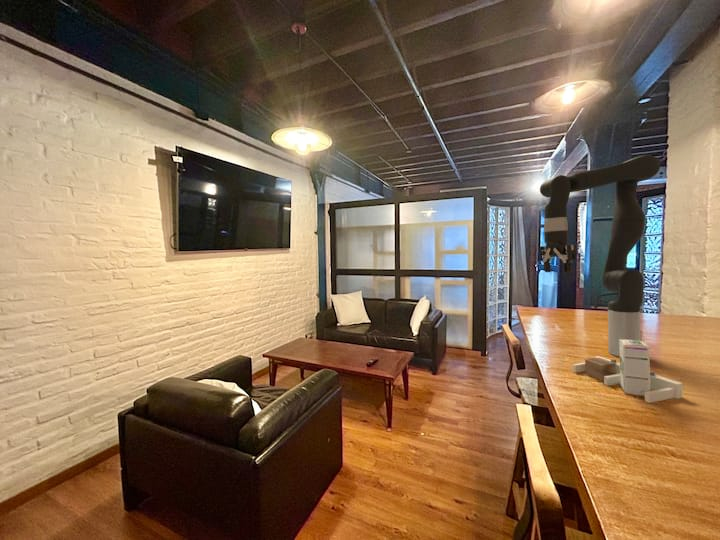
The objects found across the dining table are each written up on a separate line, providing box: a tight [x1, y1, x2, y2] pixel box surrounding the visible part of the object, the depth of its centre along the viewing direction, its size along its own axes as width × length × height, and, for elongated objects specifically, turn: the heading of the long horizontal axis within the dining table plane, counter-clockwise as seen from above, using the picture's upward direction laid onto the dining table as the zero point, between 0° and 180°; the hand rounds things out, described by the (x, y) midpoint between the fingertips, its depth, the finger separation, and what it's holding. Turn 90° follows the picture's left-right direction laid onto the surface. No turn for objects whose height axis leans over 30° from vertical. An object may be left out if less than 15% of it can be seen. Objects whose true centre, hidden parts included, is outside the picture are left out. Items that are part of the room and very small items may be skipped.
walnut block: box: [584, 357, 616, 382], centre depth 96 cm, size 6×6×5 cm
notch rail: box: [572, 355, 683, 404], centre depth 91 cm, size 11×23×5 cm, turn 12°
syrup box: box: [619, 339, 651, 397], centre depth 86 cm, size 6×6×14 cm
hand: (556, 272), depth 113 cm, fingers open, 8 cm apart
